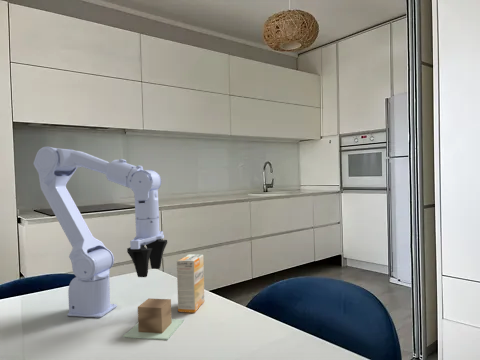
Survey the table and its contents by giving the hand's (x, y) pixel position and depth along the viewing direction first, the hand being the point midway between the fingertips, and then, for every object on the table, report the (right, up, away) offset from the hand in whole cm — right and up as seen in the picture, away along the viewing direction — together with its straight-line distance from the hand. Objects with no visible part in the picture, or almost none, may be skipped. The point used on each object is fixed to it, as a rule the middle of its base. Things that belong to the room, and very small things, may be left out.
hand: (149, 272), depth 89 cm
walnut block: (+4, -10, -9) cm, 14 cm away
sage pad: (+4, -10, -9) cm, 14 cm away
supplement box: (+10, -10, +4) cm, 15 cm away
